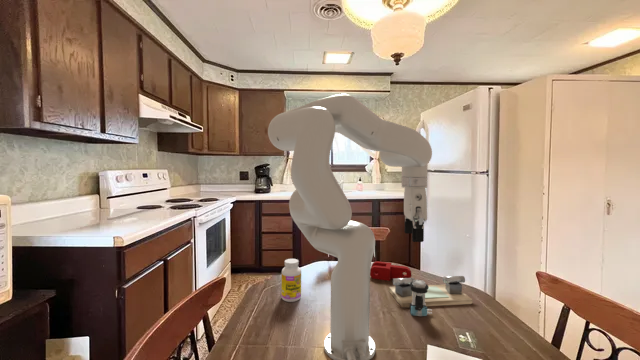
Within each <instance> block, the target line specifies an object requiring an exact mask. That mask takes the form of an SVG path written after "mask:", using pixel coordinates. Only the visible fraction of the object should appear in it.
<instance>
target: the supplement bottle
mask: <svg viewBox="0 0 640 360" xmlns="http://www.w3.org/2000/svg"><path fill="white" fill-rule="evenodd" d="M299 262H300V261H299V259H298V258H297V259H296V258H286V259H285V260H284V267H283V268H282V269H281V292H280V293H281V294H280V295H281V299H282V300H283V301H284V302H287V303H294V302H297V301H299V300H300V299H301V297H302V269H301V268H300V267H299Z"/></svg>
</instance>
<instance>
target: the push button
mask: <svg viewBox="0 0 640 360" xmlns="http://www.w3.org/2000/svg"><path fill="white" fill-rule="evenodd" d="M428 285H429V284H427V283H426V282H425V281H424V280H423V279H415V280H413V282H411V283H410V287H411V290H412V291H413V302H412V303H411V304H410V307H409V313H410V315H411V316H418V317H427V316H428V314H433V312H432V311H433V309H431V308H428V306H426V304H425V293H427V289H428V288H429V286H428ZM415 293H416V297H415Z"/></svg>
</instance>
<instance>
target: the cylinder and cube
mask: <svg viewBox="0 0 640 360" xmlns="http://www.w3.org/2000/svg"><path fill="white" fill-rule="evenodd" d="M413 280H416V279H415V278H414V277H411V278H396V279H392V285H393V286H394V287H395V292H396V293H397V294H398V295H400V296H401V297H408V296H412V290H411V287H410V283H411V282H413ZM442 282H443V284H446V288H445V289H446V290H447V291H448V293H449V294H460V295H462V292H463V283H465V282H466V277H465V276H464V275H451V276H450V275H447V276H443V277H442ZM461 283H462V284H461Z"/></svg>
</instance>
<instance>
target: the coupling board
mask: <svg viewBox="0 0 640 360" xmlns="http://www.w3.org/2000/svg"><path fill="white" fill-rule="evenodd" d="M427 285H428V286H429V288H428V289H427V293H425V304H426V307H436V306H437V307H438V306H439V307H440V306H458V305H473V300H474V299H473V298H471V297H470V296H468V294H466V293H464V292H463V291H462V295H460V294H449V293H448V291H447V290H446V289H445V288H446V283H443V284H427ZM388 292H389V293H390V294H391V296H392V297H393V298H394V299H395V301H396V302H397V303H398V304H399V306H400V307H401V308H410V304H411V303H412V302H413V291H412V296H408V297H401V296H400V295H398V294H397V293H396V292H395V286H388ZM415 297H416V293H415Z"/></svg>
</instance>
